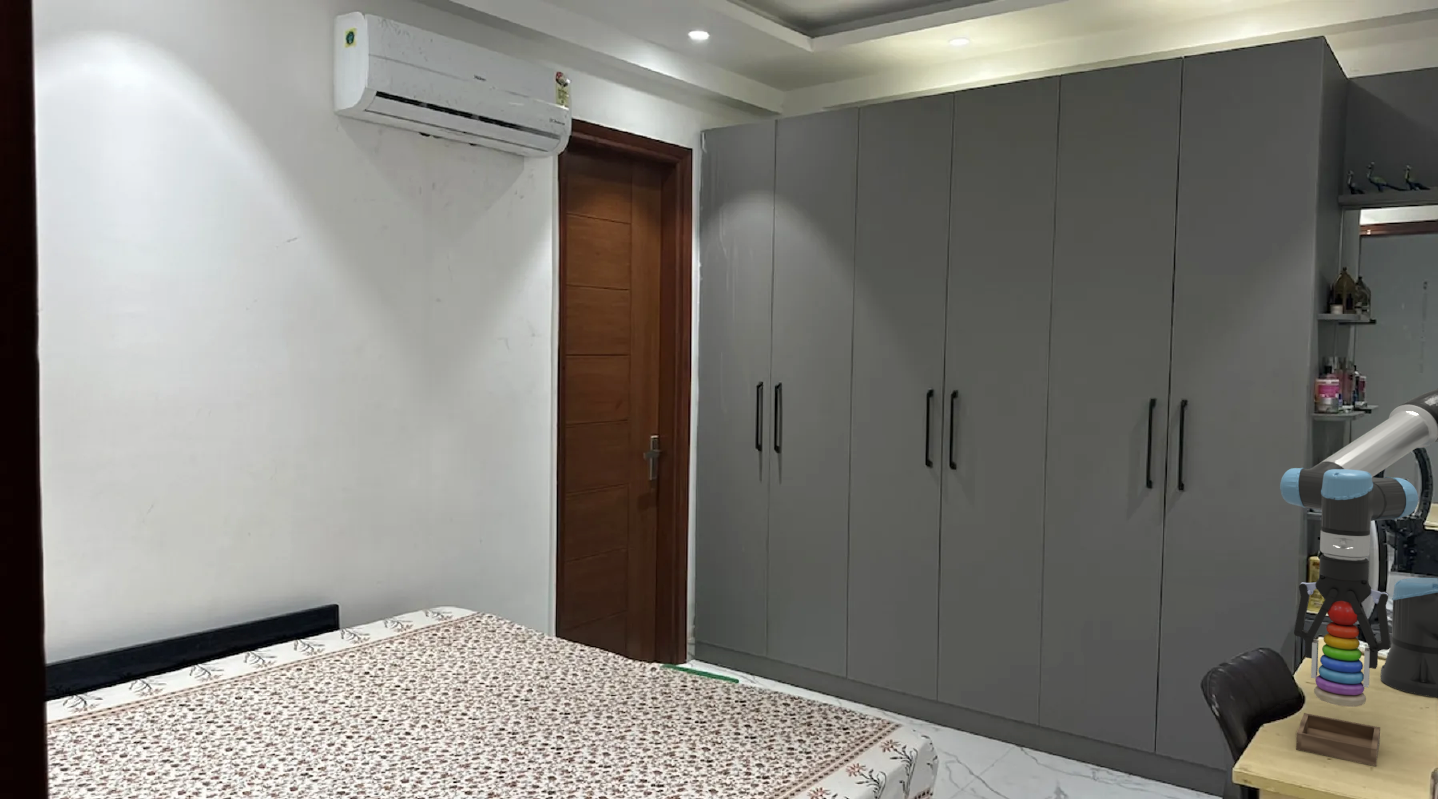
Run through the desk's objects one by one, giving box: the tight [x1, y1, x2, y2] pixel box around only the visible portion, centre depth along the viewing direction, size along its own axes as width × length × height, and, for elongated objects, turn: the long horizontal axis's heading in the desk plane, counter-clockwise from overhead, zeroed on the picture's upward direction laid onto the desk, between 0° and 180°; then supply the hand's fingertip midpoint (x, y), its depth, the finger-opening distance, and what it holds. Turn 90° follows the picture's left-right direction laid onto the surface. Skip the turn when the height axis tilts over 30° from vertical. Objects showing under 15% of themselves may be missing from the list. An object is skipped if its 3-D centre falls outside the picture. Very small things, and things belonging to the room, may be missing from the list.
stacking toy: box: [1313, 601, 1367, 708], centre depth 176 cm, size 8×8×19 cm
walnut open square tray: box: [1295, 712, 1381, 767], centre depth 177 cm, size 12×12×3 cm
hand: (1339, 680), depth 177 cm, fingers closed on stacking toy, 7 cm apart
